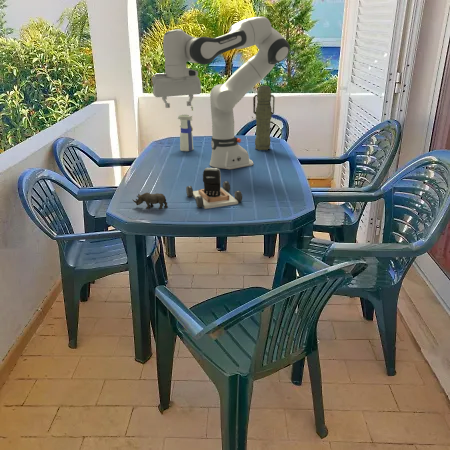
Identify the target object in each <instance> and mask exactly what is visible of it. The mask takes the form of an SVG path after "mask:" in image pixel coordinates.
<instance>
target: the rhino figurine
mask: <svg viewBox="0 0 450 450" xmlns="http://www.w3.org/2000/svg"><path fill="white" fill-rule="evenodd" d="M131 201H132V202H134V203H135V204H136V206H140V205H142V204H143V203H144V202H145V204H146V208H145V209H146V210H149V209H151V208H152V207H154V205H156V204H159V206H158V210H163V208H165V209H166V208H168V202H167V199H166V196H165V195H164V194H163V193H158V192H156V193H150V192H144V193H142V194H140V193H138V195H136V198H135V200H134V199H132V200H131Z"/></svg>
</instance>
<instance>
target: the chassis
mask: <svg viewBox="0 0 450 450" xmlns="http://www.w3.org/2000/svg"><path fill="white" fill-rule="evenodd" d="M230 184H231V183H230V182H229V181H228V180H225V181H223V182H222V186H220V192H221V195H220V196H218V197H211V196H207V195H206V194H205V193H204V188H201V189H198V190H194V189H193V186H192V185H188V186H186V189H185V193H186V196H187V198H190V197H192V198H194V199H195V204H196V207H197V208H203V209H205V210H206V209H212V208H214V209H215V208H220V207H226V206H232V205H238V204H239V203H240V202H243V194H242V193H243V192H242V191H241V190H235V191H234V195H231V194H230V193H229V192H230V190H231V185H230Z"/></svg>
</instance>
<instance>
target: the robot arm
mask: <svg viewBox="0 0 450 450" xmlns="http://www.w3.org/2000/svg"><path fill="white" fill-rule="evenodd" d="M162 41H163V43H162V44H163V46H162V47H163V55H164V59H165V61H164V71H165V72H162V73H161V72H160V73H155V74H153V75H152V77H151V82H152V93H153V96H154V97H155V98H161V99H162V101H163V103H164V104H165V108H166V109H169V108H171V103H170V102H167V100H168V97H181V96H188V98H189V99H188V101H186V106H187V107H192V101H193V99H194V95H200V94H201V93H202V86H201V79H200V78H199V71H198V70H195V69H192V68H190V67H187V63H188V62H189V63H191V64H192V63H194V64H199V65H200V64H201V65H209V64H210V63H212V62H213V61H214V60H215V59H216V58H217V57H218V56H219V55H221V54H224V53H226V52H229V51H232V50H234V49H235V50H241V49H246V48H250V47H253V46H255V47H256V48H257V49H258V51H257V53H255V54H254V55H252V56H251V57H250V58H249V59H248V60H246V61H245V62H244V63H243V64H242V65H241V66H240V67H238V68H237V69H236V70H235V71H234V72H233V73H232V74H231V75H230V77H228V79H227V80H226V81H225V82H224V83H221V84H220V83H219V84H216V85H214V86H213V87H212V89H211V90H210V95H209V98H210V99H209V100H210V111H211V112H210V113H211V115H210V116H211V133H212V135H211V140H210V141H211V142H210V144H211V156H210V161H209V166H210V167H211V168H217V169H226V170H234V169H239V168H245V167H250V166H253V165H254V161H253V160H252V159H250V156H249V153H248V151H247V150H246V149H245V148H244V147H242V146H241V145H240V144H239V143H242V139H241V138H240V137H236V136H235V118H234V117H235V116H234V108H235V107H236V105H237V104H238V103H239V102H240V101H241V100H242V99H243V98H244V97H245V96H246V95H247V94H248V92H249V91H250V90H252V89H253V88H254V87H255V86H256V85H257V84H258V83H259V82H261V81H262V80H263V79H264V78H266V76H267V75H268V74H269V73H270V72H271V71H272V70H273V68H274V67H275V65H277V64H278V63H282V62H283V61H284V60H285V59H286V58H287V57H288V56H289V54H290V53H289V52H290V50H291V49H290V43H289V42H288V41H287V39H286V38H284V37H283V35H282V34H281V33H280V32H279V31H278V30H276V29H275V28H274V27H272V23H271V21H270V20H269V18H268V17H266V16H254V17H249V18H248V17H247V18H245V19H242V20H239V21H237V22H235V23H233V24H232V25H231V26H230V27H229V29H228V32H227V33H225V34H223V35H220V36H217V37H208V36H201V37H195V36H192V35H190V34H188V33H186V32H185V31H184V30H183V29H181V28H176V29H171V30H168V31H166V32H165V33H164V35H163V40H162Z"/></svg>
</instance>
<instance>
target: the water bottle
mask: <svg viewBox="0 0 450 450" xmlns="http://www.w3.org/2000/svg"><path fill="white" fill-rule="evenodd" d="M190 108H191V111H194V107H193V106H190ZM177 119H178V120H179V121H180V125H179V128H180V133H179V140H180V141H179V145H180V147H179V148H180V149H179V151H182V152H192V151H194V139H193V138H194V137H193V130H194V128H193V125H192V121H193V115H189V114H179V115H178V117H177Z"/></svg>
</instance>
